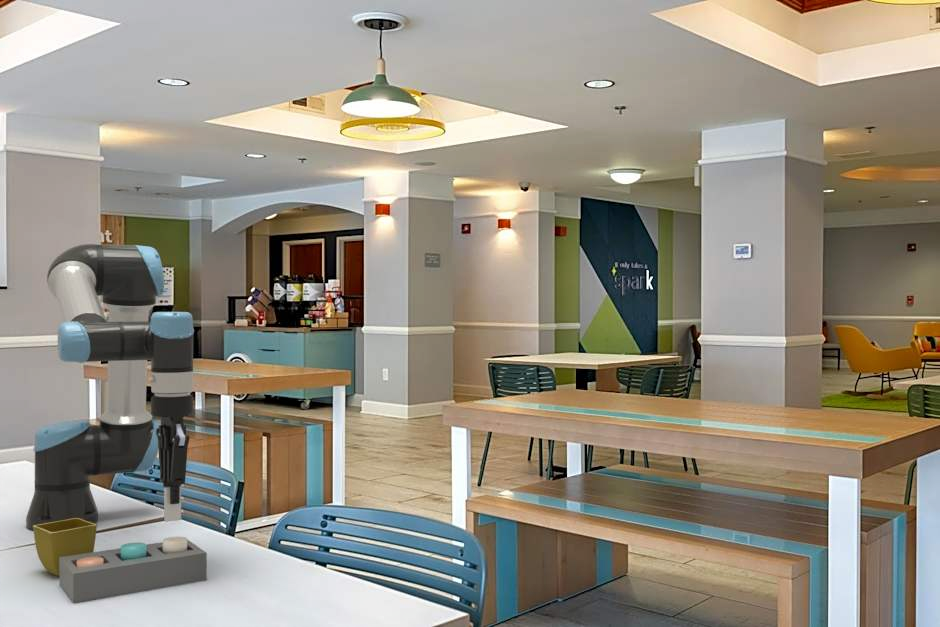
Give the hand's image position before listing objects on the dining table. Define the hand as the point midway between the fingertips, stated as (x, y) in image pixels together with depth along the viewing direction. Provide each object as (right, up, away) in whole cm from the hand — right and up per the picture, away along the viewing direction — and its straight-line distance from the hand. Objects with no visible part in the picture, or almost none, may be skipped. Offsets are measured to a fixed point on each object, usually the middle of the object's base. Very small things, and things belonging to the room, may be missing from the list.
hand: (172, 520), depth 170 cm
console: (-6, -11, -4) cm, 13 cm away
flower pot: (-21, -11, +3) cm, 24 cm away
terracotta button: (-12, -9, -8) cm, 17 cm away
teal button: (-6, -7, -4) cm, 10 cm away
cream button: (0, -7, 0) cm, 7 cm away
